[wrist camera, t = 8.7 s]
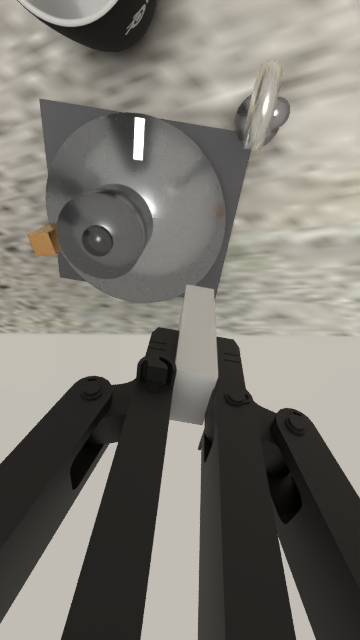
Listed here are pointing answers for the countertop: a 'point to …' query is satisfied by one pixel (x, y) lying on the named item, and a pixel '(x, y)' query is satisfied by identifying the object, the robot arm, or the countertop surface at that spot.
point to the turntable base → (212, 141)
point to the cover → (105, 230)
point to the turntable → (156, 189)
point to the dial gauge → (262, 108)
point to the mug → (96, 20)
